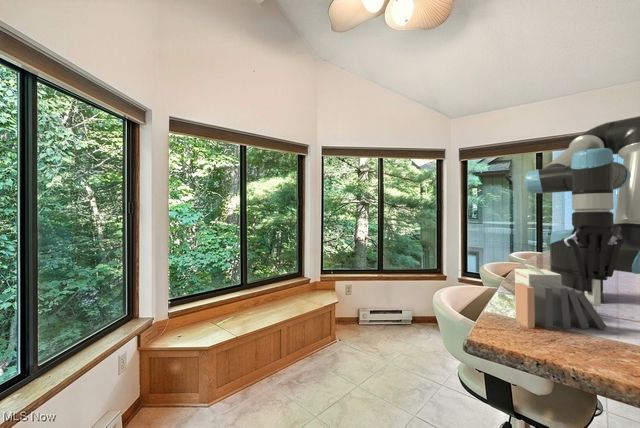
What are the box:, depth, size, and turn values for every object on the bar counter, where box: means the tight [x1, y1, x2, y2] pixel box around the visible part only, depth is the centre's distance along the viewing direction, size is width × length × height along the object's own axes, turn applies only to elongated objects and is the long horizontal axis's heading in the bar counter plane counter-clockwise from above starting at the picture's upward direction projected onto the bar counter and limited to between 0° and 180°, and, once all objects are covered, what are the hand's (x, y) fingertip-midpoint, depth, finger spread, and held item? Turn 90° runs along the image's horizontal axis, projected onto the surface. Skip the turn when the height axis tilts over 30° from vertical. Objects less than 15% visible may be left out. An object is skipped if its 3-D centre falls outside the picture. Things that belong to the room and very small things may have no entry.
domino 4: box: [557, 284, 590, 330], centre depth 71 cm, size 2×5×10 cm, turn 174°
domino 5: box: [574, 289, 608, 331], centre depth 70 cm, size 2×5×10 cm
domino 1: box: [514, 282, 536, 329], centre depth 72 cm, size 2×5×10 cm, turn 174°
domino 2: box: [532, 283, 554, 330], centre depth 71 cm, size 2×5×10 cm, turn 174°
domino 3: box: [546, 283, 572, 330], centre depth 71 cm, size 2×5×10 cm, turn 174°
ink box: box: [514, 263, 562, 307], centre depth 81 cm, size 9×8×13 cm
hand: (592, 304), depth 70 cm, fingers closed
